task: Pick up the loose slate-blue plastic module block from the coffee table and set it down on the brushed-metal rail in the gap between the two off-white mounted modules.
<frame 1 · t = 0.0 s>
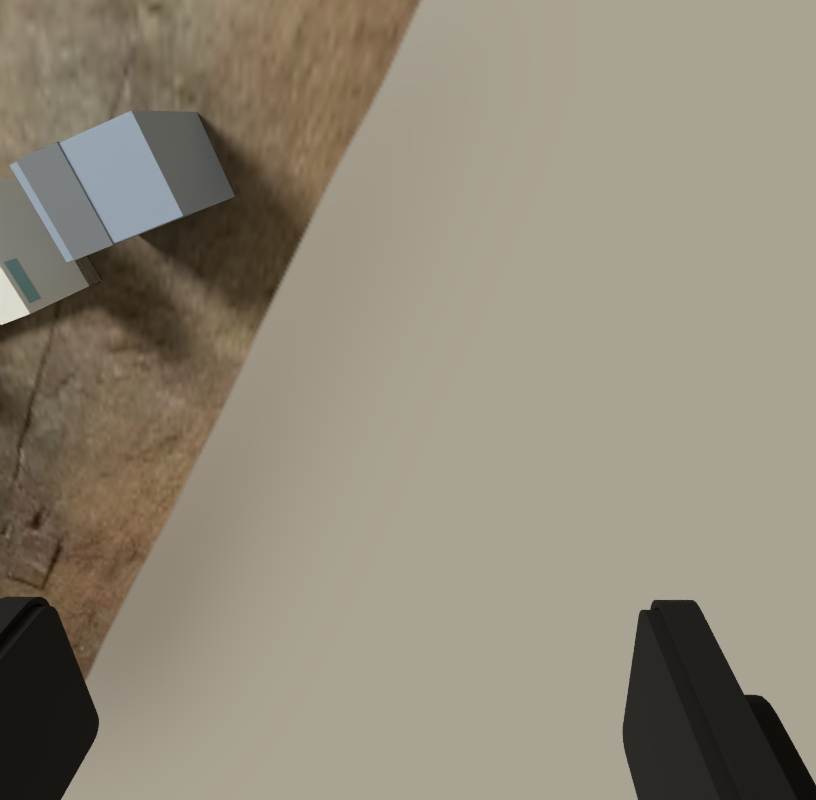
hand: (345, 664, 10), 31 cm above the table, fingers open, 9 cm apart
module a: (59, 234, 39), resting on rail
module c: (166, 176, 37), on the table
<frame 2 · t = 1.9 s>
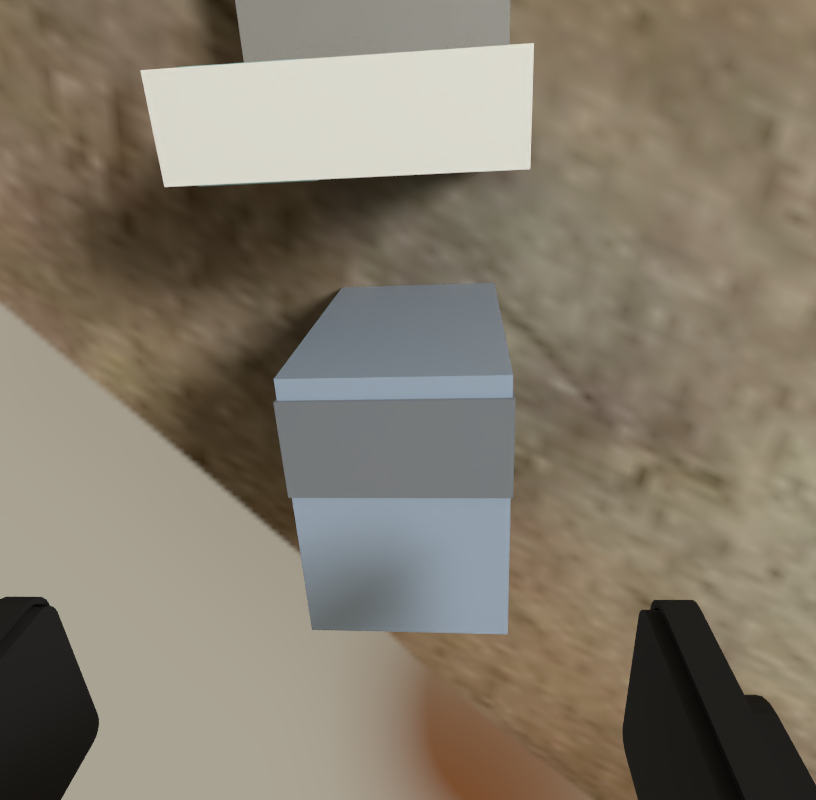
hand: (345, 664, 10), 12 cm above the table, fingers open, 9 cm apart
module a: (384, 122, 18), resting on rail
module c: (421, 383, 21), on the table
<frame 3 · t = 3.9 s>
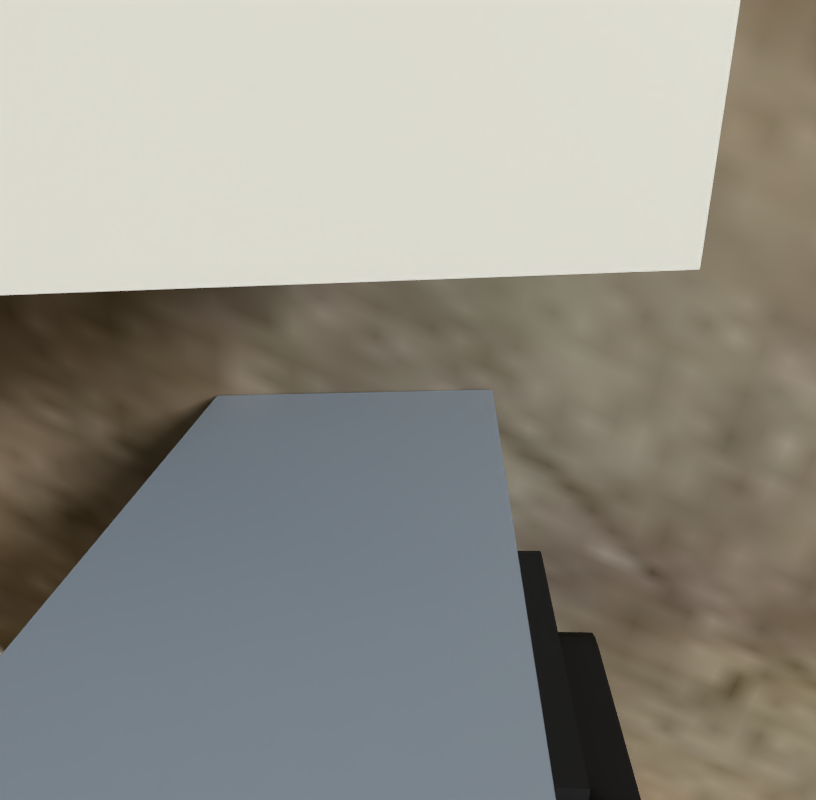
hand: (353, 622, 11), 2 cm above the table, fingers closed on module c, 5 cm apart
module a: (272, 94, 9), resting on rail
module c: (367, 548, 12), on the table, touching gripper
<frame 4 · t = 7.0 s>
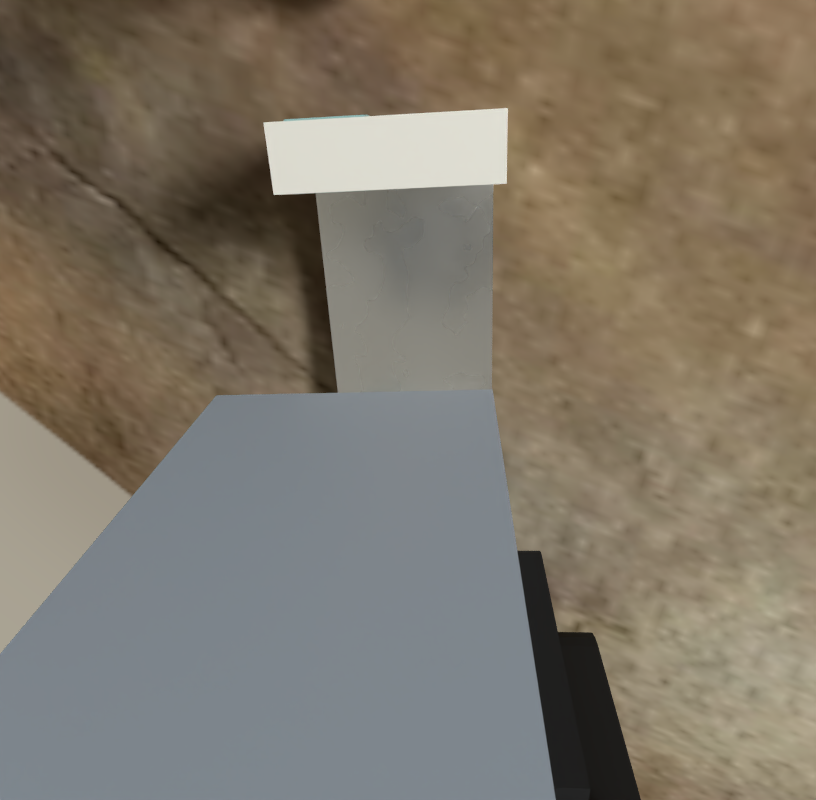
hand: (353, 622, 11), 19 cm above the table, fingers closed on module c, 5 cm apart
module c: (367, 548, 12), point 17 cm above the table, touching gripper
rail: (412, 310, 27), on the table
module b: (403, 143, 24), resting on rail
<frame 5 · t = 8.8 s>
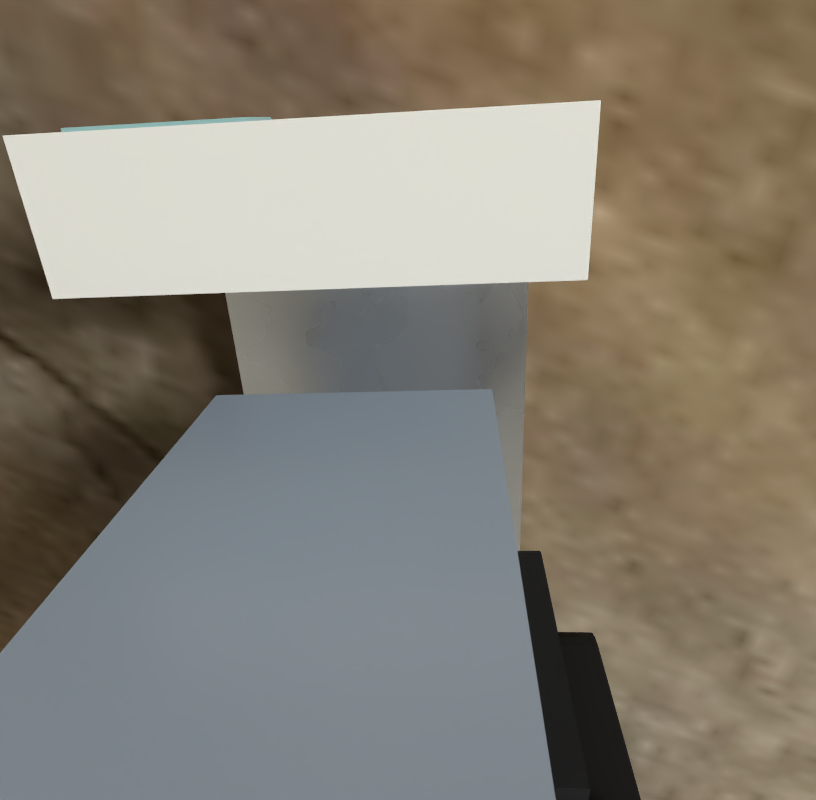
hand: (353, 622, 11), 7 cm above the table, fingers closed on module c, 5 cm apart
module c: (367, 548, 12), point 5 cm above the table, touching gripper
rail: (391, 430, 17), on the table
module b: (372, 165, 14), resting on rail
when the fingers open (5 cm above the table, at t = 10.2 s): module c drops 1 cm, resting on rail.
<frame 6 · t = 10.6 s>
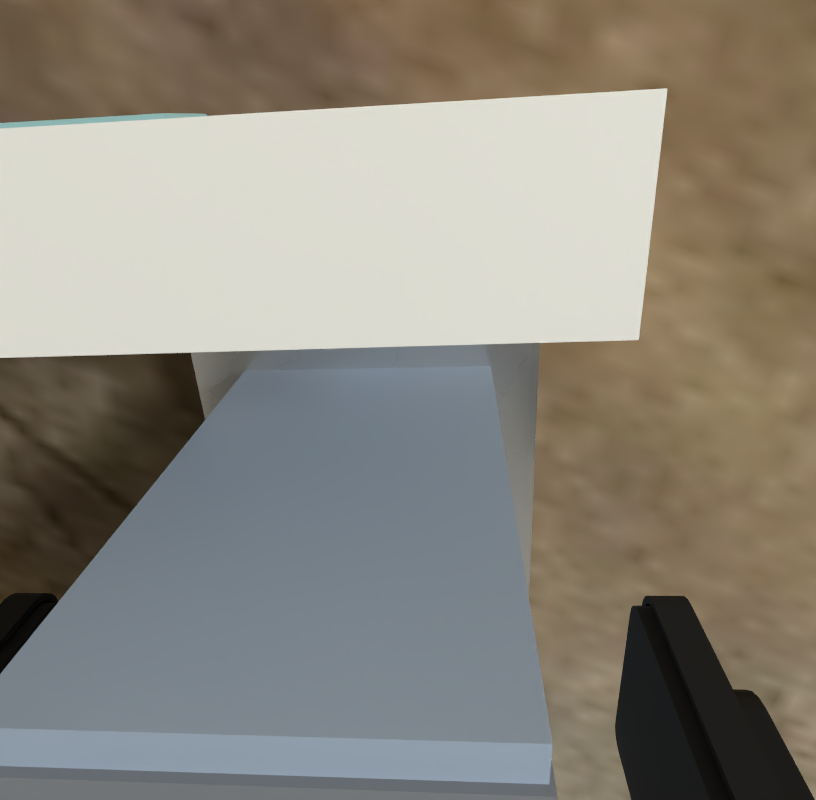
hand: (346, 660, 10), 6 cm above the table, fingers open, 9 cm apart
module c: (377, 511, 14), point 1 cm above the table, touching rail
rail: (382, 472, 15), on the table
module b: (357, 171, 12), resting on rail
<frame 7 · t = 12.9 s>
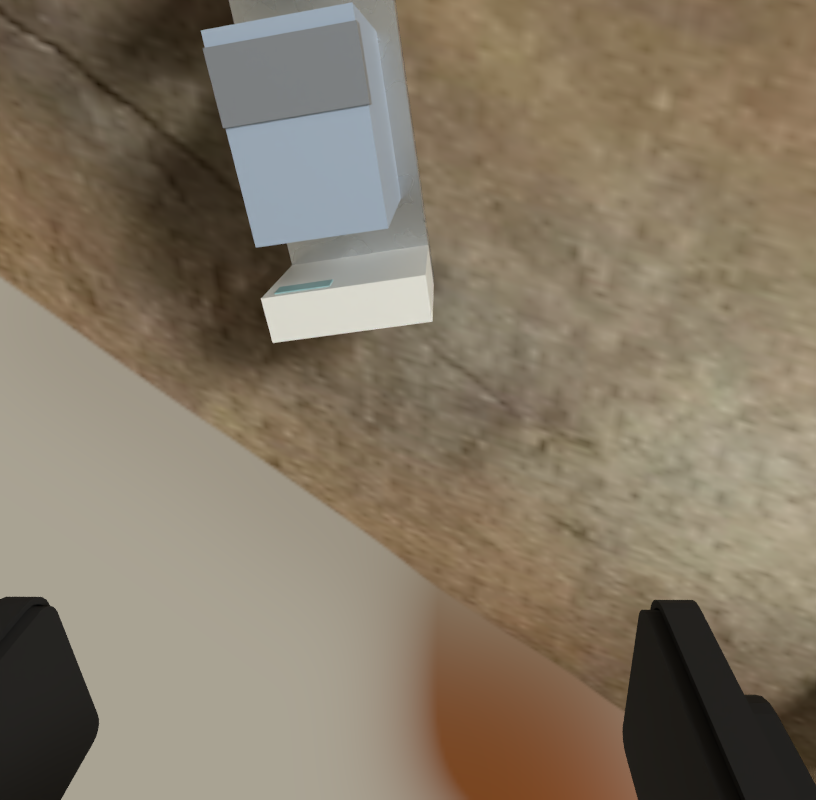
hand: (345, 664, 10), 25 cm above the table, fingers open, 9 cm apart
module a: (366, 267, 32), resting on rail
module c: (335, 128, 28), point 1 cm above the table, touching rail
rail: (339, 124, 29), on the table
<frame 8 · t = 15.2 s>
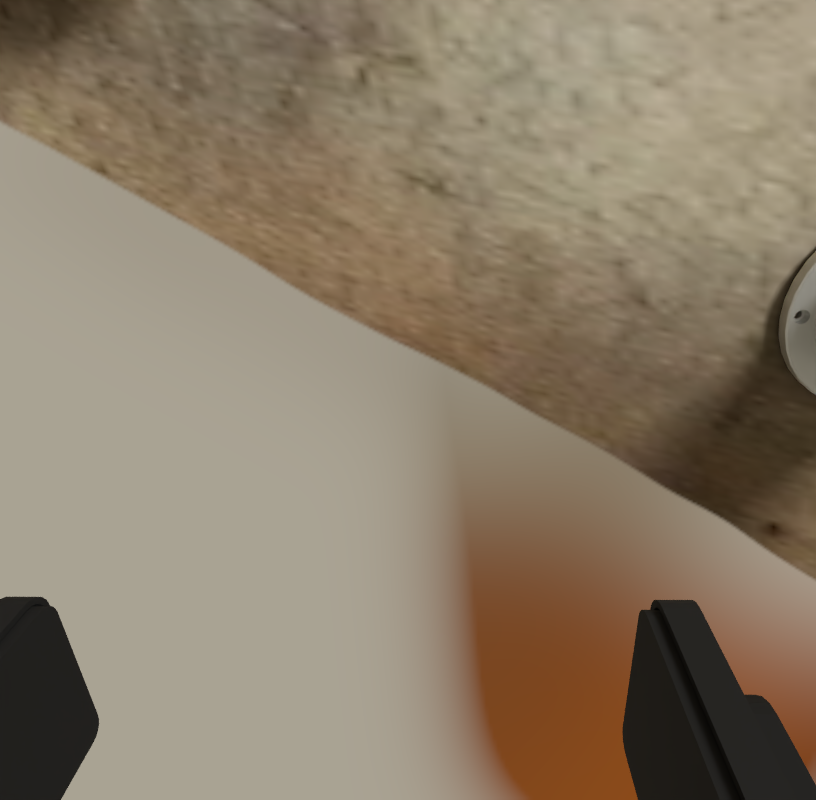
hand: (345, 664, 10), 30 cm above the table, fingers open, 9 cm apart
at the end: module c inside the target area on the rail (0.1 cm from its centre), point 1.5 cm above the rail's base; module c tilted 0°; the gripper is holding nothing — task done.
